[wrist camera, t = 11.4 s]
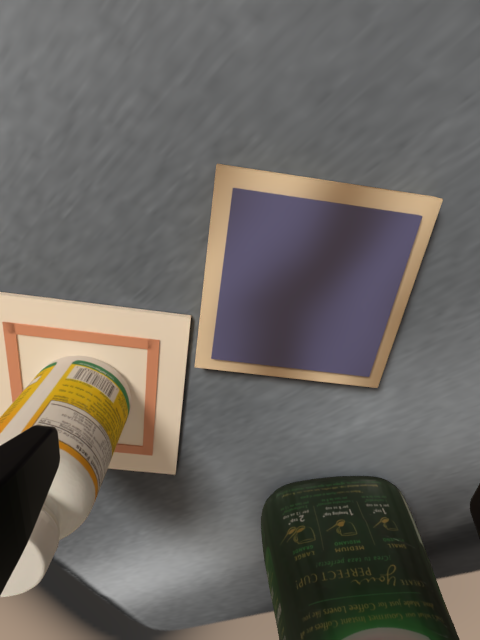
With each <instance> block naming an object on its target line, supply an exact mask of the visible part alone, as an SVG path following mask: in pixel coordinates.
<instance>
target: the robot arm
mask: <svg viewBox="0 0 480 640" xmlns="http://www.w3.org/2000/svg"><path fill="white" fill-rule="evenodd" d="M59 463H60V449H59V438H58V431H57V429H56V428H55V427H53V426H44V425H34V426H32V427H30V428H29V429H27V430H25V431H24V432H22V433H20V434H19V435H17V436H15V437H14V438H12V439H10V440H9V441H7V442H5V443H4V444H2V445H0V595H1V594H2V592H3V590H4V588H5V586H6V584H7V582H8V580H9V578H10V576H11V575H12V573H13V571H14V569H15V567H16V565H17V563H18V561H19V559H20V557H21V555H22V553H23V551H24V549H25V547H26V545H27V543H28V541H29V539H30V536H31V534H32V532H33V529H34V527H35V524H36V522H37V519H38V517H39V514H40V512H41V510H42V507H43V505H44V502H45V500H46V497H47V495H48V492H49V490H50V487H51V485H52V482H53V480H54V477H55V475H56V472H57V470H58V467H59ZM470 512H471V515H472V518H473V521H474V524H475V527H476V530H477V532H478V535H479V538H480V484H479V486H478V488H477V489H476V491H475V493H474V495H473V497H472V499H471V501H470Z"/></svg>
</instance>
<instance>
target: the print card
mask: <svg viewBox="0 0 480 640" xmlns="http://www.w3.org/2000/svg"><path fill="white" fill-rule="evenodd" d="M190 323H191V315H183V314H175V313H167V312H159V311H151V310H143V309H135V308H126V307H118V306H110V305H102V304H94V303H86V302H78V301H69V300H61V299H53V298H45V297H37V296H29V295H21V294H12V293H4V292H0V417H1V416H2V415H3V414H4V412H5V411H6V410H7V409H8V408H9V407H10V406H11V404H12V403H13V402H14V401H15V400H16V399H17V398H18V396H19V395H20V394H21V393H22V392H23V390H24V389H25V388H26V387H27V386H28V385H29V384H30V382H31V381H32V380H33V379H34V378H35V377H36V375H37V374H38V373H39V372H40V371H41V370H42V369H43V368H44V367H45V366H46V365H48V364H49V363H50V362H52V361H54V360H56V359H59V358H62V357H66V356H76V355H77V356H87V357H92V358H95V359H98V360H101V361H103V362H105V363H107V364H108V365H110V366H111V367H113V368H114V369H115V370H116V371H117V372H118V373H119V374H120V375H121V376H122V377H123V378H124V380H125V381H126V383H127V385H128V388H129V391H130V394H131V409H130V412H129V415H128V418H127V421H126V423H125V426H124V428H123V430H122V433H121V435H120V438H119V440H118V443H117V446H116V448H115V451H114V453H113V456H112V458H111V461H110V464H109V466H108V468H109V469H119V470H130V471H141V472H152V473H163V474H173V475H175V474H176V466H177V456H178V445H179V435H180V425H181V415H182V404H183V394H184V384H185V374H186V364H187V353H188V343H189V333H190Z"/></svg>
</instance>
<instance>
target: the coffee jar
mask: <svg viewBox="0 0 480 640" xmlns="http://www.w3.org/2000/svg"><path fill="white" fill-rule="evenodd" d="M261 533H262V544H263V552H264V560H265V566H266V571H267V577H268V582H269V588H270V593H271V598H272V603H273V608H274V613H275V618H276V623H277V628H278V634H279V640H459V637H458V635H457V632H456V630H455V627H454V624H453V623H452V620H451V617H450V615H449V612H448V610H447V607H446V605H445V602H444V600H443V597H442V594H441V592H440V589H439V586H438V583H437V581H436V578H435V575H434V573H433V570H432V567H431V564H430V562H429V559H428V556H427V554H426V551H425V548H424V546H423V543H422V540H421V538H420V535H419V532H418V530H417V527H416V525H415V522H414V519H413V517H412V515H411V512H410V510H409V508H408V506H407V503H406V501H405V499H404V498H403V496H402V494H401V492H400V491H399V490H398V488H397V487H396V486H394V485H393V484H391V483H390V482H388V481H386V480H384V479H381V478H377V477H369V476H343V477H329V478H321V479H311V480H306V481H300V482H295V483H290V484H287V485H284V486H282V487H280V488H279V489H277V490H276V491H275V492H274V493H273V494H272V495H271V496H270V497H269V498H268V499H267V501H266V503H265V504H264V507H263V510H262V516H261Z"/></svg>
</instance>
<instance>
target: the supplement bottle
mask: <svg viewBox="0 0 480 640" xmlns="http://www.w3.org/2000/svg"><path fill="white" fill-rule="evenodd" d="M130 409H131V394H130V391H129V388H128V385H127V383H126V381H125V380H124V378H123V377H122V376H121V375H120V374H119V373H118V372H117V371H116V370H115V369H114V368H113V367H111V366H110V365H108V364H107V363H105V362H103V361H101V360H98V359H95V358H92V357H87V356H77V355H76V356H66V357H62V358H59V359H56V360H54V361H52V362H50V363H49V364H48V365H46V366H45V367H44V368H43V369H42V370H41V371H40V372H39V373H38V374H37V375H36V377H35V378H34V379H33V380H32V381H31V382H30V384H29V385H28V386H27V387H26V388H25V389H24V390H23V392H22V393H21V394H20V395H19V396H18V398H17V399H16V400H15V401H14V402H13V403H12V404H11V406H10V407H9V408H8V409H7V410H6V411H5V412H4V414H3V415H2V416H1V417H0V445H2V444H4V443H5V442H7V441H9V440H10V439H12V438H14V437H15V436H17V435H19V434H20V433H22V432H24V431H25V430H27V429H29V428H30V427H32V426H34V425H44V426H53V427H55V428H56V429H57V431H58V438H59V449H60V463H59V467H58V470H57V472H56V475H55V477H54V480H53V482H52V485H51V487H50V490H49V492H48V495H47V497H46V500H45V502H44V505H43V507H42V510H41V512H40V514H39V517H38V519H37V522H36V524H35V527H34V529H33V532H32V534H31V536H30V539H29V541H28V543H27V545H26V547H25V549H24V551H23V553H22V555H21V557H20V559H19V561H18V563H17V565H16V567H15V569H14V571H13V573H12V575H11V576H10V578H9V580H8V582H7V584H6V586H5V588H4V590H3V592H2V594H1V595H0V597H8V596H14V595H17V594H22V593H24V592H26V591H28V590H30V589H31V588H33V587H34V586H36V585H37V584H38V583H39V582H40V581H41V579H42V578H43V577H44V575H45V573H46V571H47V569H48V567H49V564H50V562H51V560H52V558H53V556H54V553H55V551H56V550H57V547H58V543H59V540H60V539H62V538H64V537H66V536H68V535H69V534H71V533H72V532H74V531H75V530H76V529H77V528H78V527H79V526H80V525H81V524H82V523H83V522H84V521H85V519H86V518H87V517H88V515H89V513H90V511H91V509H92V507H93V505H94V502H95V500H96V497H97V495H98V492H99V490H100V487H101V484H102V482H103V479H104V477H105V474H106V471H107V469H108V466H109V464H110V461H111V458H112V456H113V453H114V451H115V448H116V446H117V443H118V440H119V438H120V435H121V433H122V430H123V428H124V426H125V423H126V421H127V418H128V415H129V412H130Z"/></svg>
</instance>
